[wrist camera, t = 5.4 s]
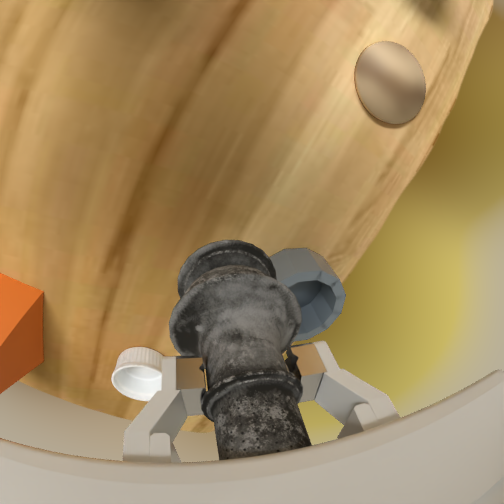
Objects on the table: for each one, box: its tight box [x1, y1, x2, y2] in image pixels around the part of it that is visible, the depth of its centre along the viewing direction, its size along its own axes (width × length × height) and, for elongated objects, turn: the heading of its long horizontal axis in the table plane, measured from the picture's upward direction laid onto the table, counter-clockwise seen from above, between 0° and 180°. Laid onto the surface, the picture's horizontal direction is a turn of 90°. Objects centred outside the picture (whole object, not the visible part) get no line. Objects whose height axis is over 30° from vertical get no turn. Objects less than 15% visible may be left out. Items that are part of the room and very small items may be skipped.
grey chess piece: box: [169, 240, 312, 460], centre depth 11 cm, size 6×6×12 cm
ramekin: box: [112, 347, 163, 401], centre depth 39 cm, size 9×9×4 cm
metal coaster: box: [355, 41, 426, 124], centre depth 27 cm, size 10×10×1 cm
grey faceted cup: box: [269, 248, 346, 342], centre depth 36 cm, size 10×10×5 cm
